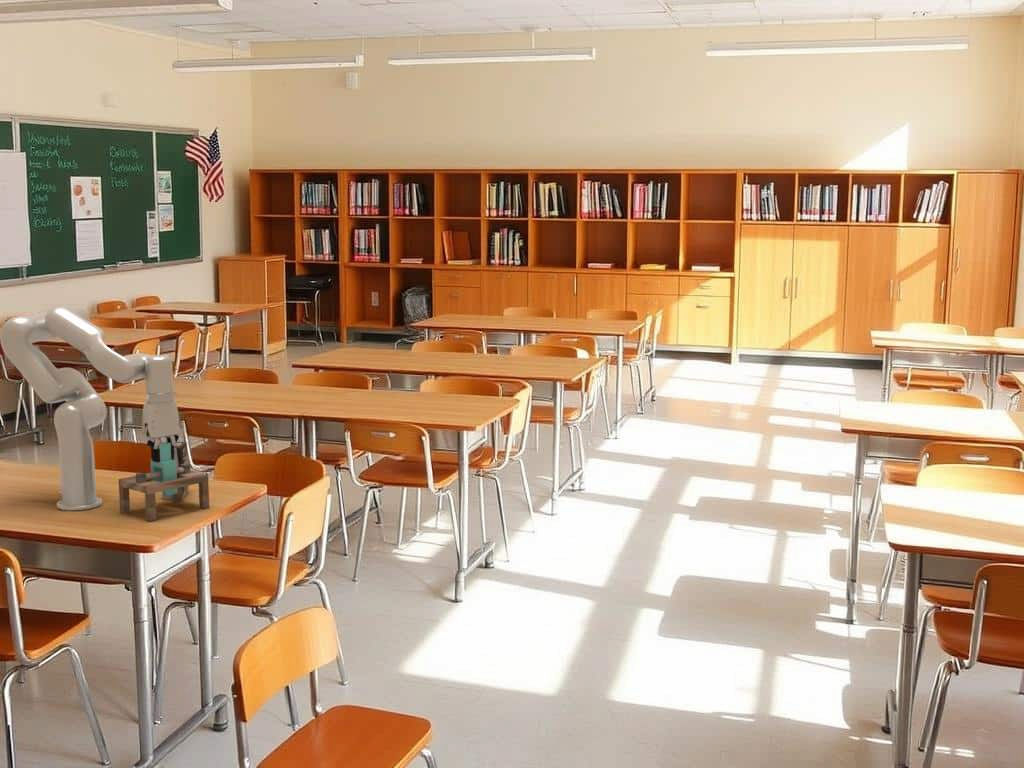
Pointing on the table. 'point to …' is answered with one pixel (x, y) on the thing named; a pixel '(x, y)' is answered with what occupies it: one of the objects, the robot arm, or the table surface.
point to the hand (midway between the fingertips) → (163, 459)
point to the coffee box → (179, 463)
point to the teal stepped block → (165, 466)
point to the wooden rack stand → (162, 488)
